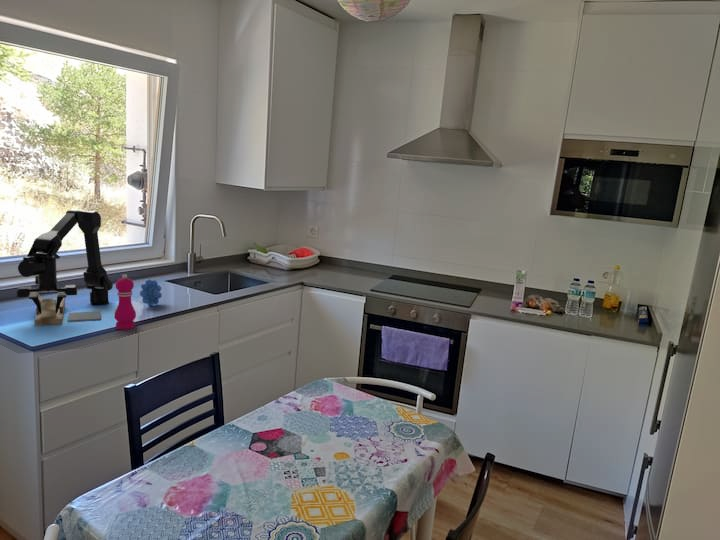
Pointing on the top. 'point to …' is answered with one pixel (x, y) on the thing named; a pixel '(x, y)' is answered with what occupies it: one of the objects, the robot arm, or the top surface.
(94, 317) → the slate pad
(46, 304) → the maple block
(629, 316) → the top surface
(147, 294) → the grapes
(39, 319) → the walnut trough
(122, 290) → the pepper mill
